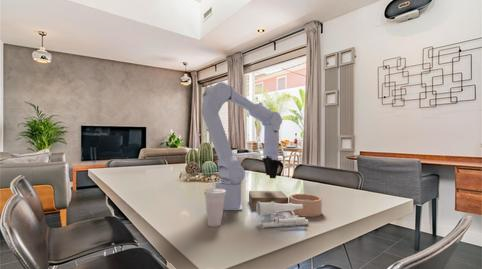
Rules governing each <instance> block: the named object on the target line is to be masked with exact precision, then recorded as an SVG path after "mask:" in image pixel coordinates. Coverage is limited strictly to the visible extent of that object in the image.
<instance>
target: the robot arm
mask: <svg viewBox="0 0 482 269" xmlns="http://www.w3.org/2000/svg"><path fill="white" fill-rule="evenodd" d="M201 98H202V106H201V115H202V118H203V121H204V123H205V127H206V128H207V131H208V134H209V136H210V139H211V142H212V146H213V148H214V151H215V153H216V156H217V158H218V160H217V163H216V164H217V167H218V168H217V173H218V174H217V175H218V177H219V178H220V182H215V183H214V188H218V189H224V190H226V195H225V199H224V206H223V211H242V210H243V206H242V203H241V200H242V199H241V198H242V196H241V195H242V182H243V180H244V178H245V175H246V172H245V168H244V167H243V166H242V165H241V164H240V161H239V160H238V159H237V157H236V156H235V155H234V153H233V150H232V148H231V145H230V142H229V140H228V136H227V134H226V131H225V129H224V126H223V122H222V120H221V117H220V114H219V112H220V111H221V108H222V107H223V105H224V104H225V103H229V102H230V103H233V104H235V105H236V106H238V107H241V108H243V109H245V110H247V111H248V114H249V116H250V117H252V118H254V119H256V120H258V121H260V122H261V124H262V126H263V128H264V130H263V131H264V135H263V156H265V157H262V162H263V165H264V168H265V176H269V179H276V178H277V174H278V170H279V166H280V165H281V163H282V160H280V159H279V158H278V157H279V156H282V153H279V150H280V149H279V144H280V142H279V141H280V139H279V138H280V136H279V135H280V128H281V125H282V123H283V118H282V116H281V115H280V113H279V112H277V111H272V109H271V108H267V107H266V106H264V104H263V102H258V101H256V102H253V101H251V100H249V99H248V98H247V97H246V96H244V95H243V94H242V93H240V92H238V91H237V90H236V89H235V88H234V87H233V86H231V85H229V84H228V83H226V82H223V81H221V82H218V83H216V84H214V85H212V86H209V87H207V88H206V89H205V90H204V93H203V94H202V97H201Z"/></svg>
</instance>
